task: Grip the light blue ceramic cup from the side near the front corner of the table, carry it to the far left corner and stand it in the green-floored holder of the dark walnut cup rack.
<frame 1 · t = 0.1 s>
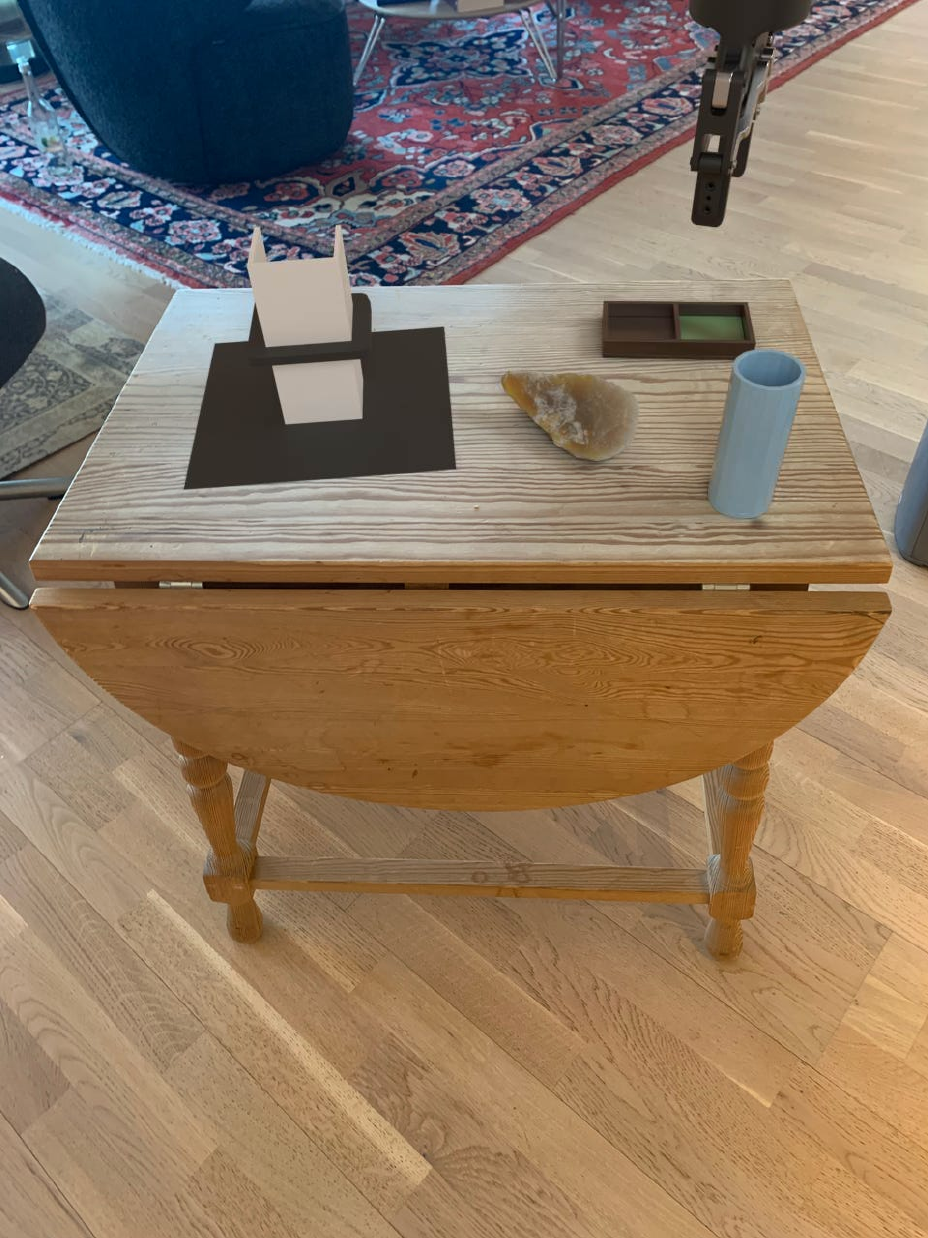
hand: (718, 198, 68), 23 cm above the table, tool pointing down, fingers open, 8 cm apart
stone: (565, 434, 87), on the table
cup: (739, 497, 80), on the table
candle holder: (325, 402, 93), on the table
rack: (674, 337, 97), on the table
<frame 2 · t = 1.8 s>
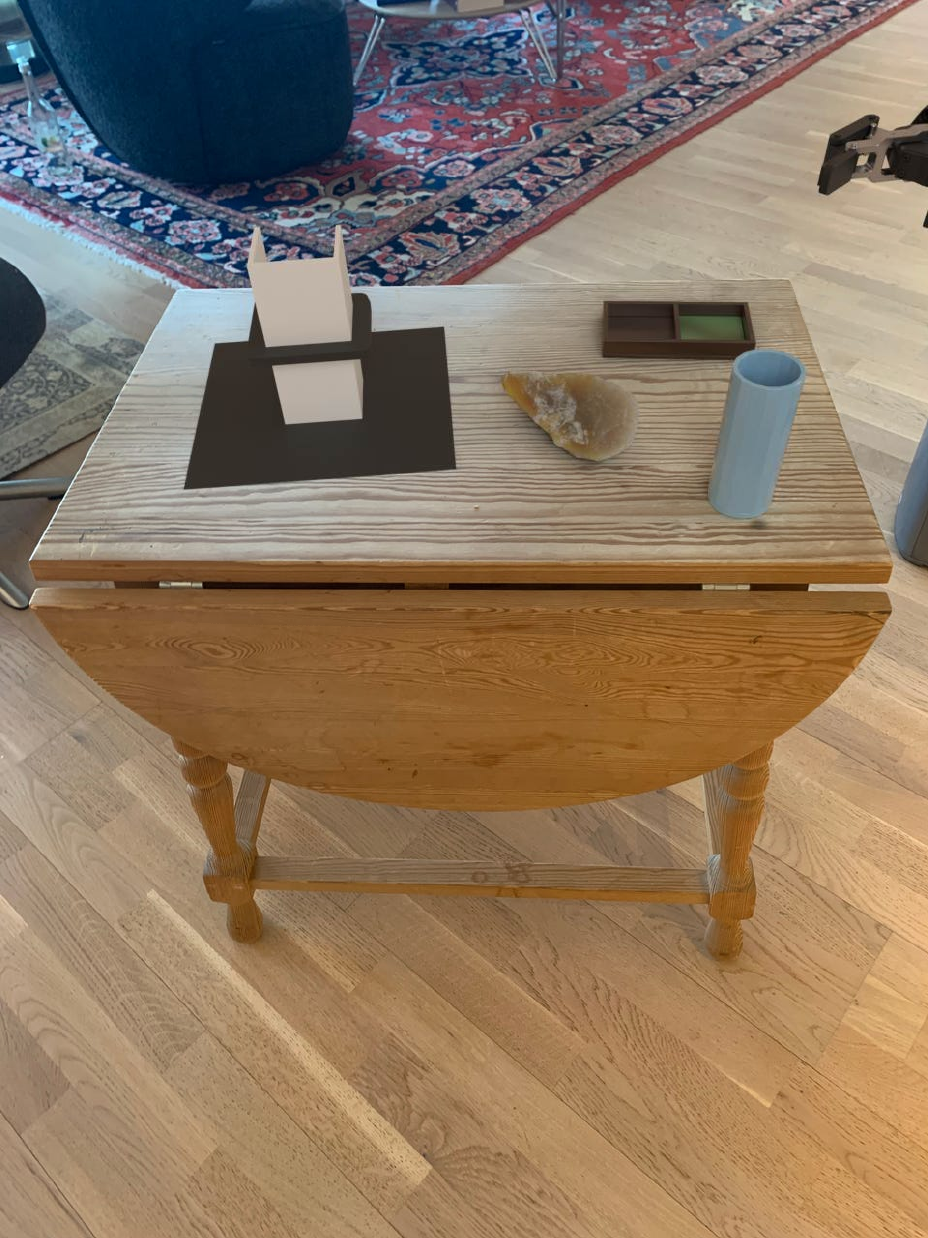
hand: (876, 198, 68), 22 cm above the table, tool horizontal, fingers open, 8 cm apart
nothing on the table moved.
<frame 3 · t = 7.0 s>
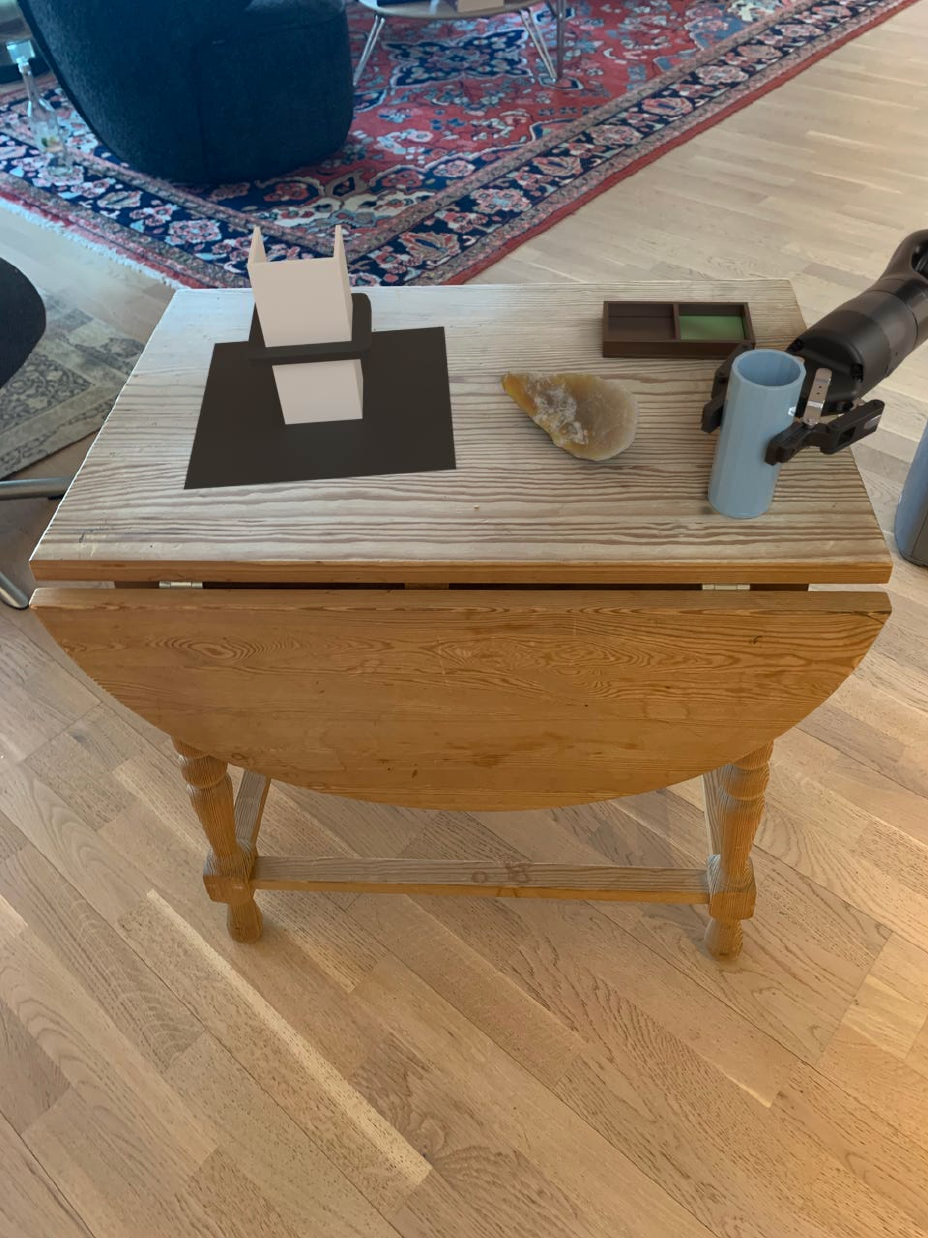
hand: (738, 438, 73), 8 cm above the table, tool horizontal, fingers closed on cup, 5 cm apart
cup: (739, 497, 80), on the table, touching gripper
everything else where it was.
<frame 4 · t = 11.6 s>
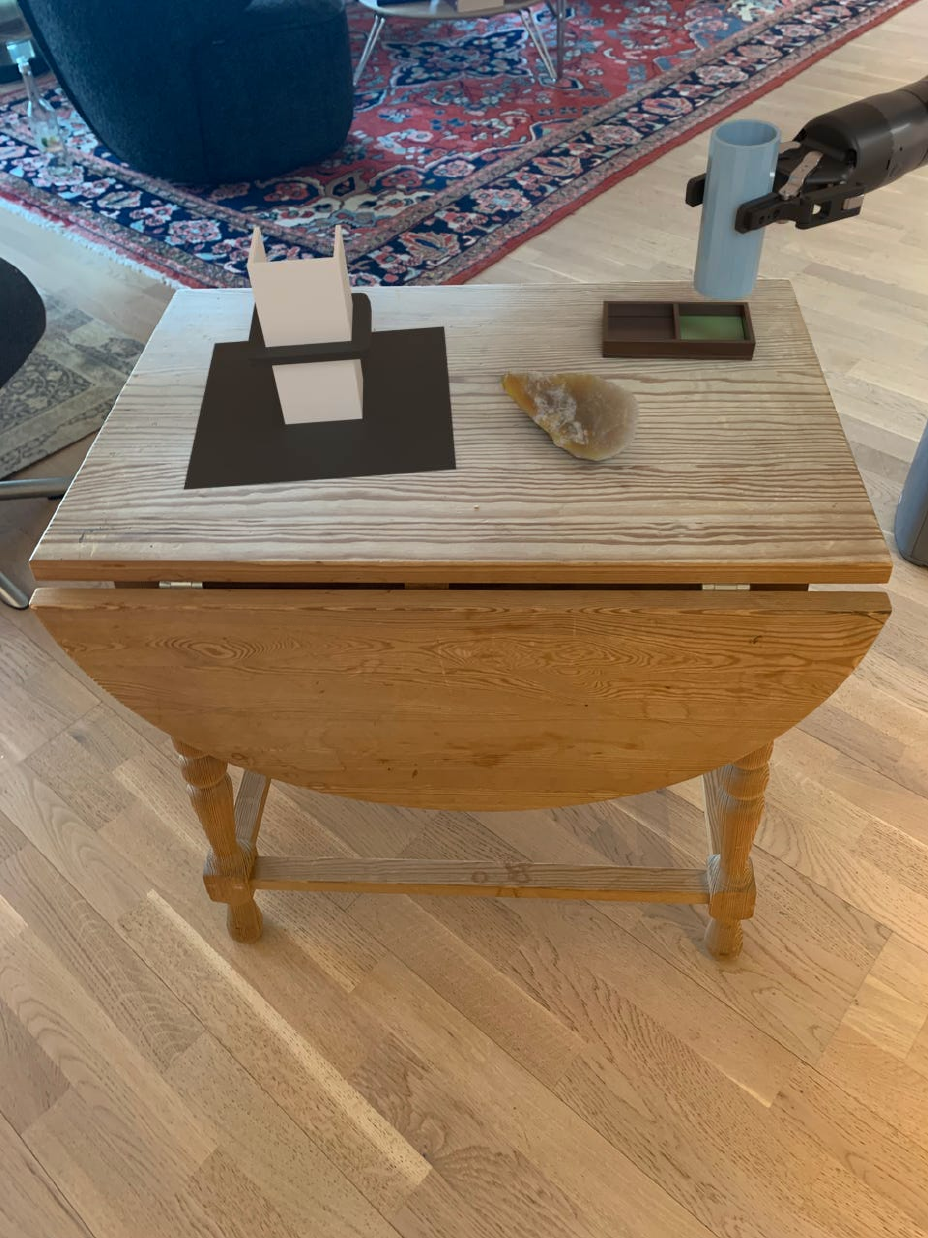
hand: (714, 207, 76), 19 cm above the table, tool horizontal, fingers closed on cup, 5 cm apart
cup: (724, 284, 83), point 11 cm above the table, touching gripper
everything else where it was.
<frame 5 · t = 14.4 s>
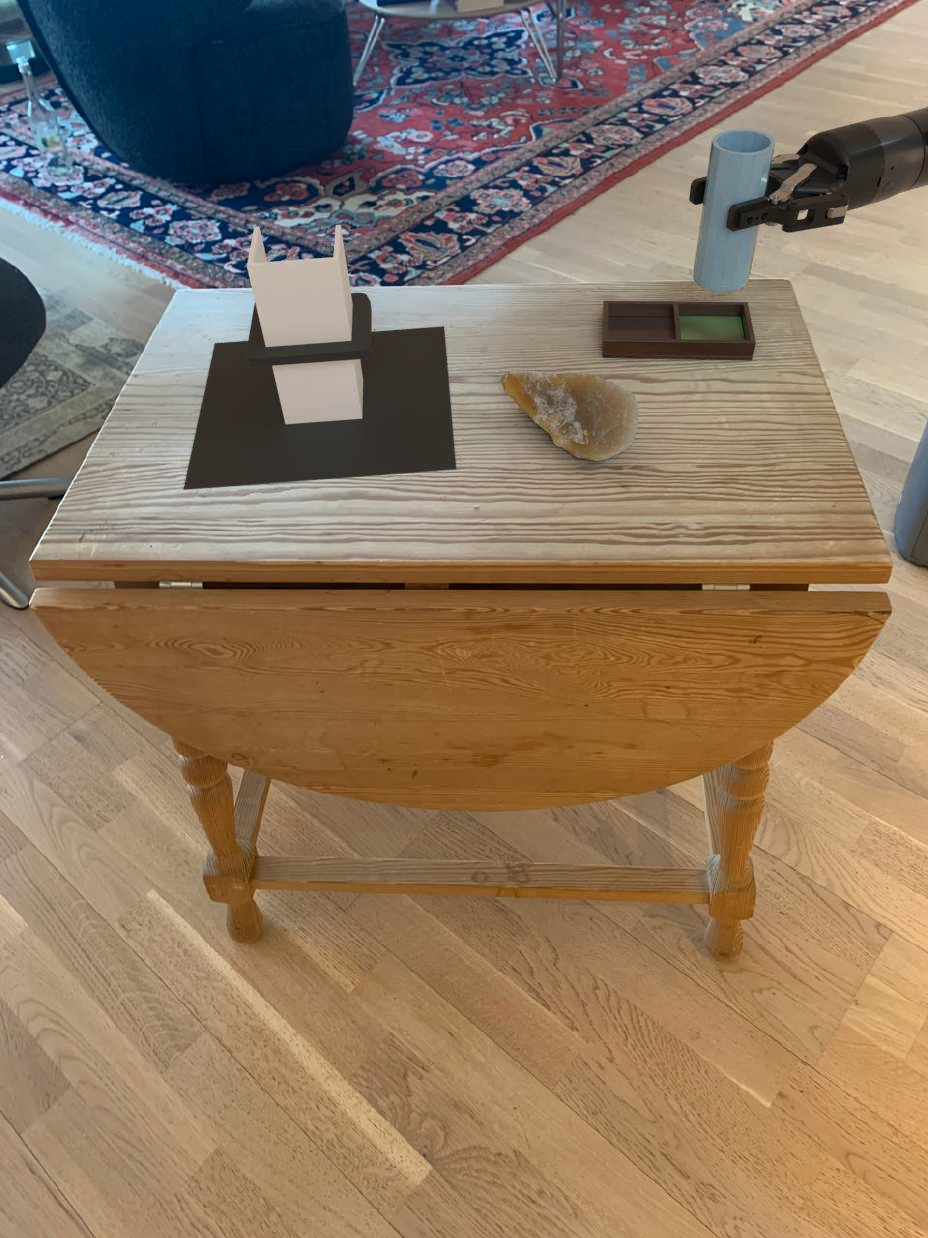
hand: (711, 205, 85), 14 cm above the table, tool horizontal, fingers closed on cup, 5 cm apart
cup: (720, 277, 92), point 7 cm above the table, touching gripper
everything else where it was.
when the fingers open (8 cm above the table, at t = 16.6 s): cup stays where it is, resting on rack.
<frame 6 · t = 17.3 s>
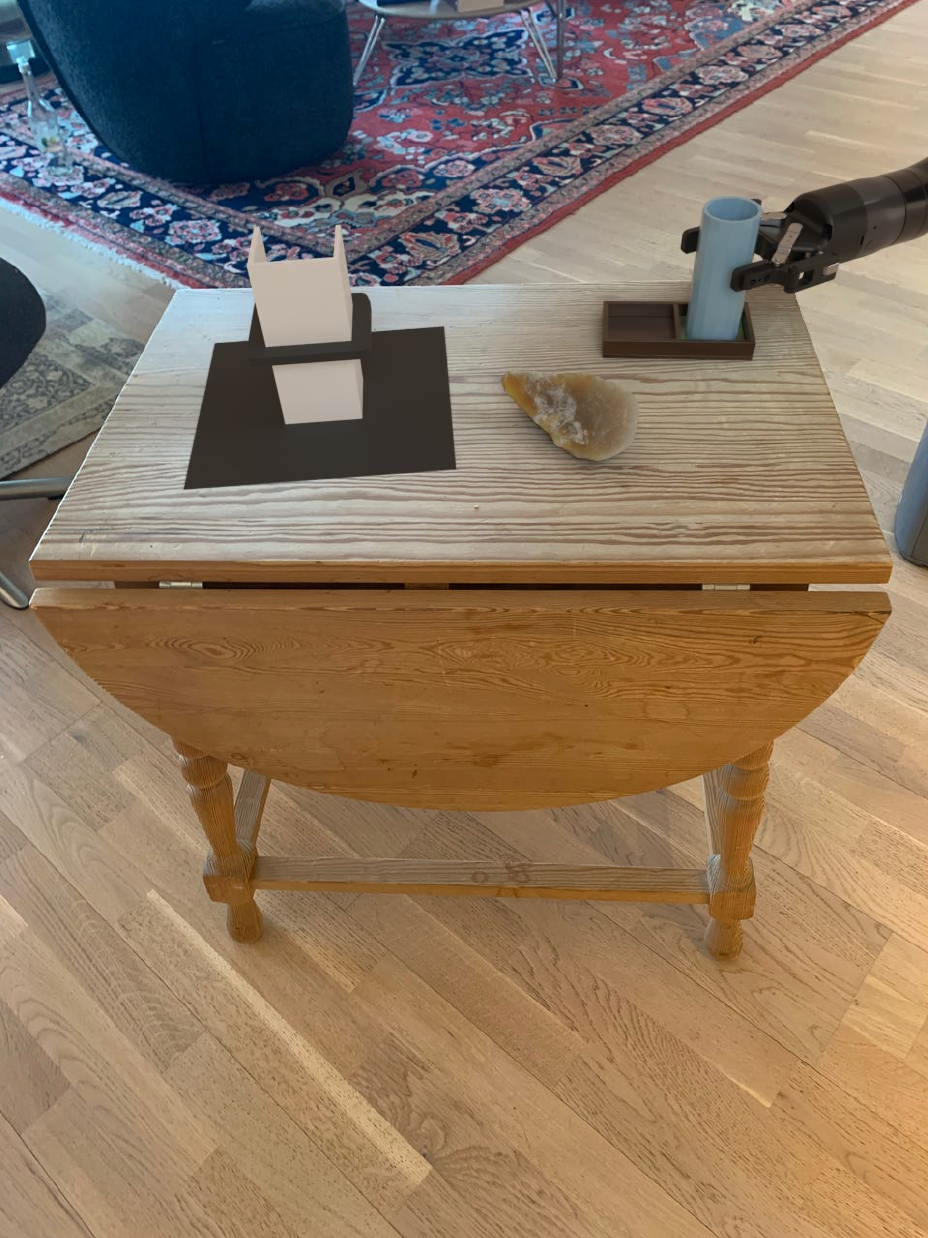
hand: (707, 261, 90), 9 cm above the table, tool horizontal, fingers open, 8 cm apart
cup: (711, 332, 96), point 1 cm above the table, touching rack
everything else where it was.
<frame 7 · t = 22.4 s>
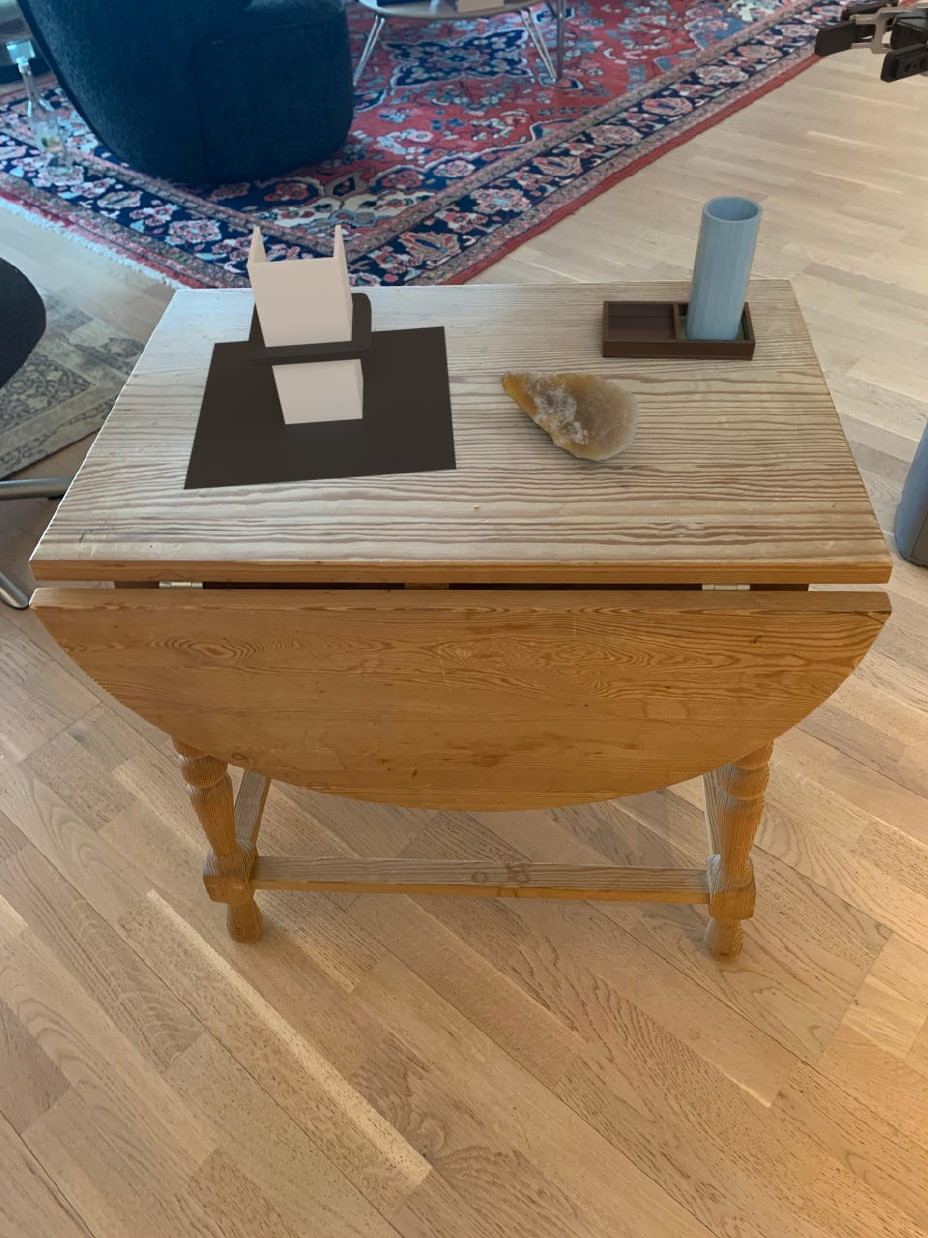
hand: (850, 55, 81), 25 cm above the table, tool horizontal, fingers open, 8 cm apart
nothing on the table moved.
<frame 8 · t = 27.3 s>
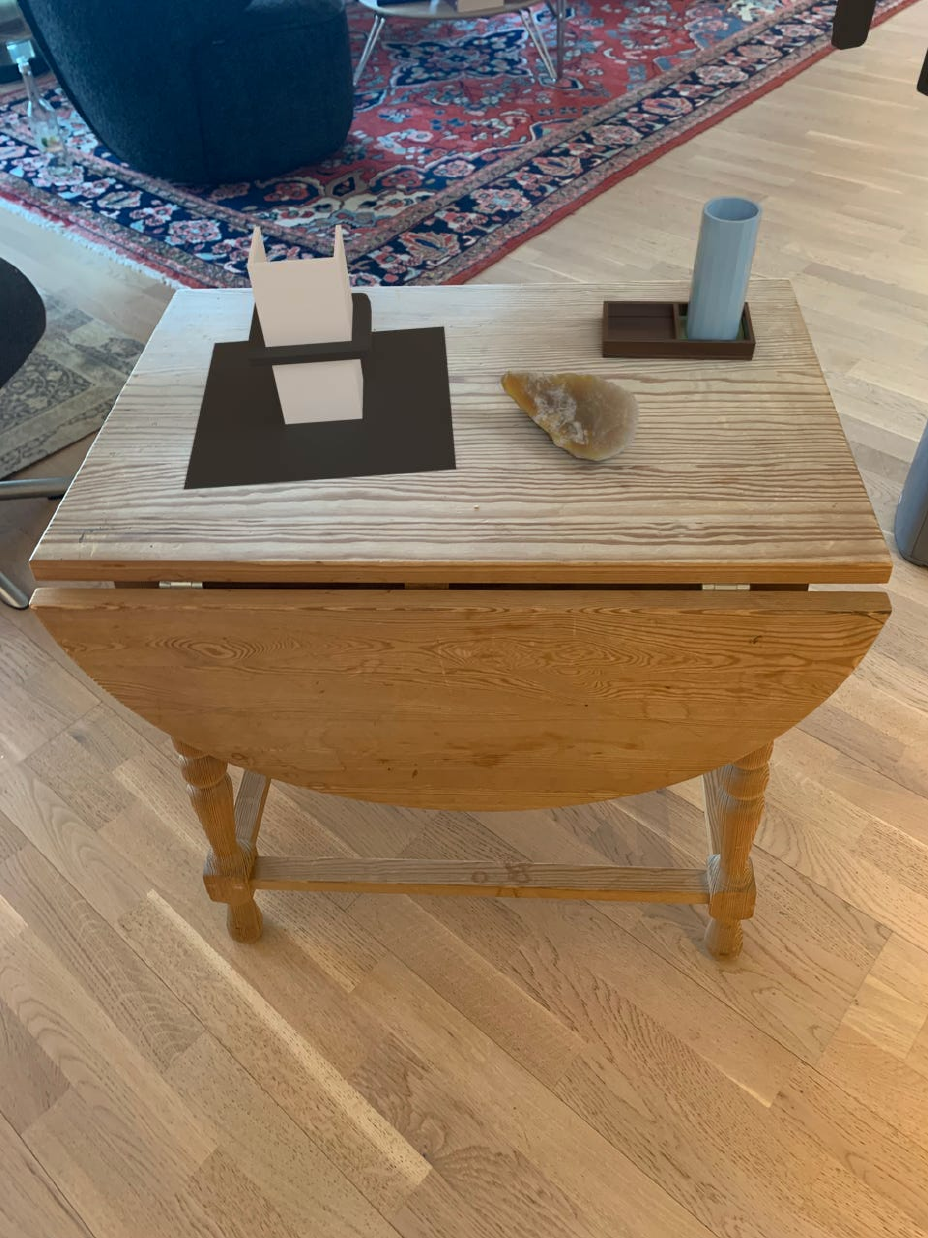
hand: (888, 68, 56), 33 cm above the table, tool pointing down, fingers open, 8 cm apart
nothing on the table moved.
at the end: cup 0.1 cm from the target spot in the rack, point 0.6 cm above the rack's base; cup tilted 0°; the gripper is holding nothing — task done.
